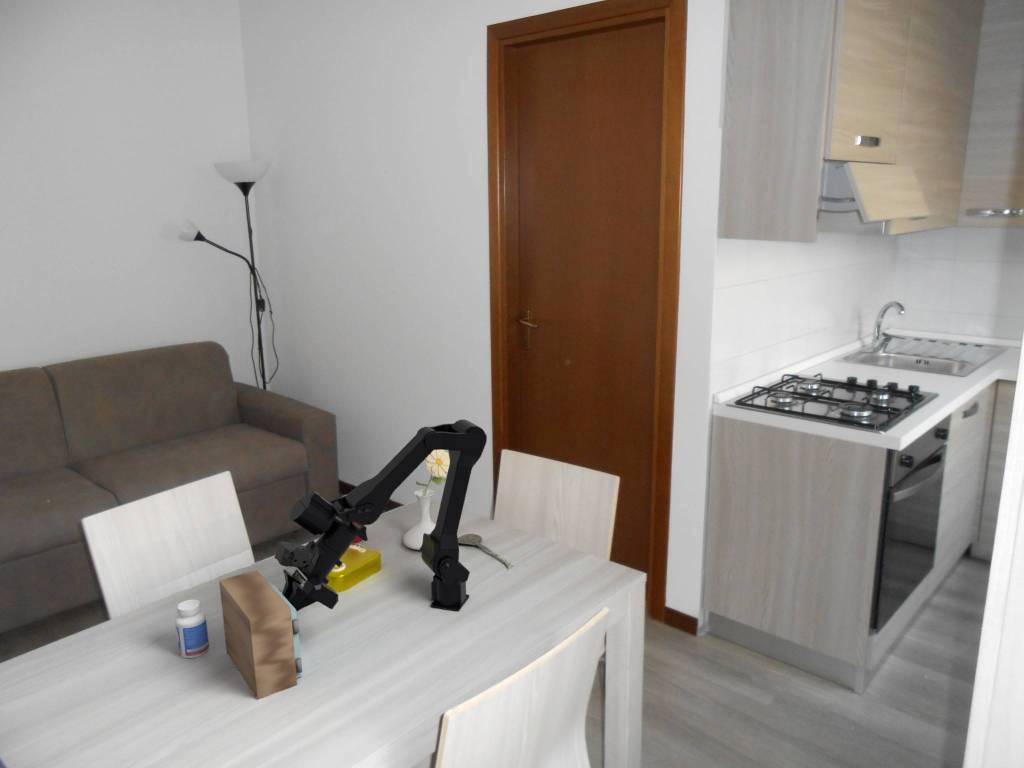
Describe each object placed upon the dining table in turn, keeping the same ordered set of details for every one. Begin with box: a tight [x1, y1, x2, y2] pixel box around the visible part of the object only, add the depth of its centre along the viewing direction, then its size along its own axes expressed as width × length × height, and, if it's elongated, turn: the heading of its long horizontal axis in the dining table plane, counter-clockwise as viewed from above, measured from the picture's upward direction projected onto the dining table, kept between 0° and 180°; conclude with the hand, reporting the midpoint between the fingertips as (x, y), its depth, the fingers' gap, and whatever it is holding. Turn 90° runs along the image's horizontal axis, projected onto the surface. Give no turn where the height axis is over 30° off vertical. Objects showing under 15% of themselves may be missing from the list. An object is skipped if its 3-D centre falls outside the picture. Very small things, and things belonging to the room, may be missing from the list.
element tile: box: [326, 544, 382, 593], centre depth 181 cm, size 15×15×5 cm
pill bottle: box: [174, 599, 210, 659], centre depth 149 cm, size 6×5×10 cm
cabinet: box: [218, 569, 298, 700], centre depth 143 cm, size 7×18×15 cm, turn 36°
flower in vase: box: [402, 450, 450, 551], centre depth 194 cm, size 13×11×25 cm
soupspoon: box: [458, 533, 515, 570], centre depth 191 cm, size 22×3×7 cm
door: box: [266, 580, 303, 679], centre depth 145 cm, size 15×2×13 cm, turn 35°
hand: (278, 615), depth 149 cm, fingers closed, pressing on door
